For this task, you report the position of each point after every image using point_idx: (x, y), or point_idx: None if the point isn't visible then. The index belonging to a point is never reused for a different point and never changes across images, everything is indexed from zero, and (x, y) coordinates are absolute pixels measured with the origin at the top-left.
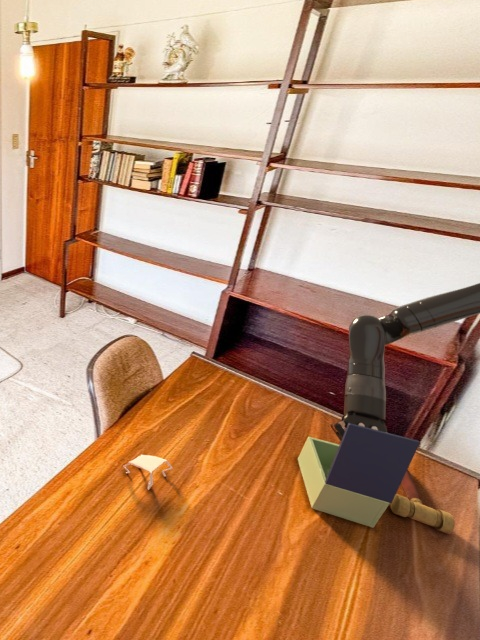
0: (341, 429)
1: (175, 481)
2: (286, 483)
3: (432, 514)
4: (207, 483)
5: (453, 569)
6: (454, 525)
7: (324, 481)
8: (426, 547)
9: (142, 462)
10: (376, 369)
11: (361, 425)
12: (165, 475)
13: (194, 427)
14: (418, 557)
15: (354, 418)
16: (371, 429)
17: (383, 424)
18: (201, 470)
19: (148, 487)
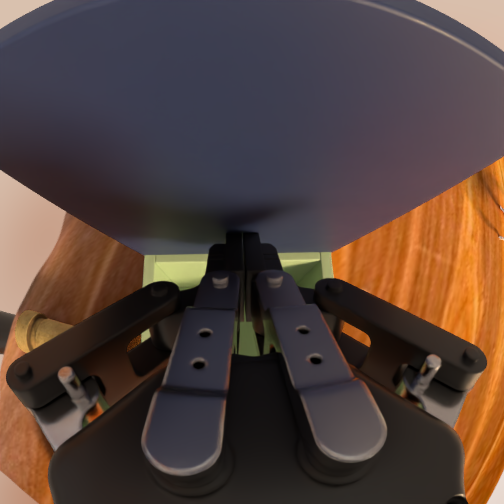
0: (442, 345)
1: (490, 233)
2: (348, 331)
3: (44, 328)
4: (465, 250)
5: (67, 242)
6: (21, 314)
7: (329, 260)
8: (85, 273)
9: None
10: None
11: (353, 429)
12: (499, 237)
13: (491, 384)
14: (111, 242)
15: (409, 494)
16: (430, 14)
17: None
18: (476, 275)
19: (501, 207)
